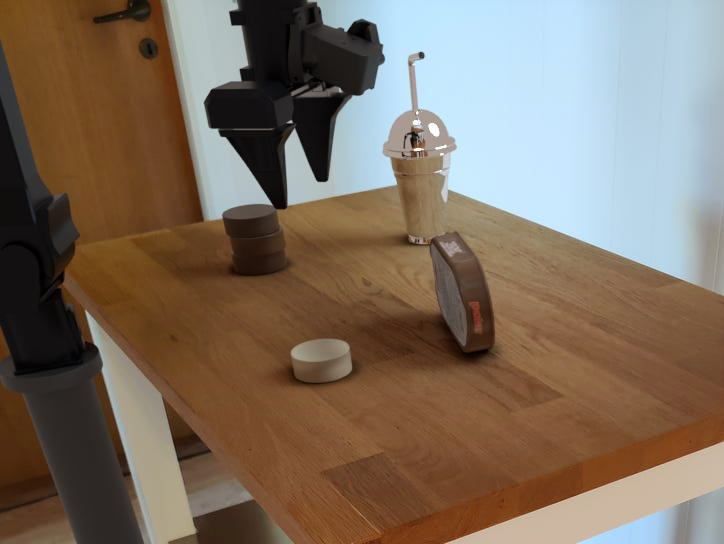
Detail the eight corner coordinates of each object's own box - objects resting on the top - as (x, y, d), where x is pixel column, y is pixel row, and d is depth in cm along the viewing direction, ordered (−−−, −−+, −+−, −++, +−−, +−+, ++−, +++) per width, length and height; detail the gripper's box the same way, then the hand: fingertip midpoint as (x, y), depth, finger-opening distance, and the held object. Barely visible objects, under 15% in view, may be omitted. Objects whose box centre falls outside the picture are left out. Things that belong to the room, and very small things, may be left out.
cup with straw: (468, 227, 121) (457, 37, 109) (454, 251, 114) (440, 51, 102) (401, 228, 122) (382, 40, 110) (382, 251, 116) (360, 54, 103)
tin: (499, 363, 88) (495, 266, 83) (465, 368, 88) (458, 271, 82) (462, 307, 100) (455, 219, 94) (431, 311, 99) (423, 223, 94)
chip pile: (238, 279, 111) (226, 222, 107) (229, 263, 115) (218, 208, 112) (293, 269, 112) (284, 214, 108) (283, 254, 117) (273, 200, 113)
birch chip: (300, 387, 86) (296, 365, 85) (289, 366, 90) (285, 344, 89) (358, 376, 87) (355, 354, 86) (344, 355, 91) (341, 334, 90)
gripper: (316, 3, 72) (346, 227, 82) (402, -25, 86) (418, 170, 96) (180, 8, 75) (224, 224, 84) (284, -20, 89) (312, 168, 98)
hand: (302, 194), depth 91 cm, fingers open, 9 cm apart
